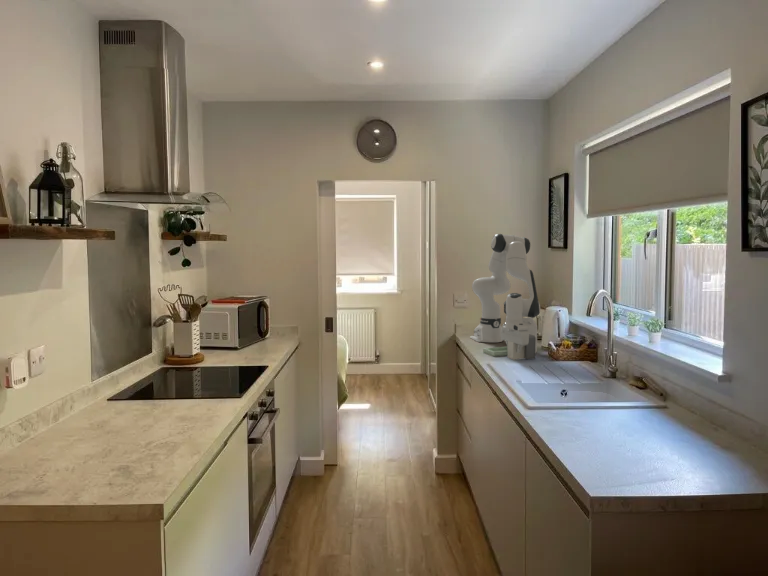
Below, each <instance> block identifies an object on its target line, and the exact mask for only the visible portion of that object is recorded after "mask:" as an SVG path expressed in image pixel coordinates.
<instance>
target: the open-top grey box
mask: <svg viewBox="0 0 768 576" xmlns="http://www.w3.org/2000/svg"><path fill="white" fill-rule="evenodd" d="M535 341H536V337H535V336H534V335H530V334H529V343H528V345H526V356H525V358H524V359H525V360H532V359H534V360H535V359H536V353H535Z"/></svg>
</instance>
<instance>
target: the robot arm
mask: <svg viewBox="0 0 768 576" xmlns="http://www.w3.org/2000/svg"><path fill="white" fill-rule="evenodd" d="M490 244H491V245H490V247H491V249H492V250H493V251H492V253H491V256H490V259H489V262H488V265H487V267H488V270H489V271H490V273H491V276H486V277H485V276H484V277H483V276H482V277H479V278H477V279H474V280H473V281H472V285H471V289H472V291H473V293H474V294H475V295H476V296H477V297H478V299H479V301H480V304H481V317H480V318H479V320H480V321H479V324H478V325H477V326H476V327H475V328H474V329H473V335H471V336H469V338H470V339H472V340H473V341H475V342H478V343H500V342H501V343H502V342H503V341H504V342H505V345H506V346H507V349H508V341H511V342H514V343H515V344H518V349H516V350H517V351H516V352H517V353H521V349H522V347H523V346H524V345H528V343H529V332H528V331H527V330H529V326H528V325H527V324H525V323H524V322H523V318H533V319H534V318H536V317H538V315H540V312H541V304H540V301H539V298H538V292H537V286H536V280H535V276H534V273H533V271H532V269H530V268H529V267H528V263H527V262H528V261H527V254H529V251H530V249H531V240H529V238H527V237H524V236H519V235H515V234H503V233H497V234H496V233H495V234H494V235H493V237H492V238H491V243H490ZM507 273H508V275H510V276H511V277H513V278H515V279H518V280H521V281H522V282H524V283H526V285H527V289H528V294H529V295H528V296H529V298H523V296H522V294H521V293H518V292H512V293H508V292H509V291H510V289H511V281H510V279H508V277H507ZM507 293H508V294H507ZM503 294H507V295H506V300H505V301H504V302H503V313H504V314H505V315H506V316H505V322H503V324H502V317H501V305H500V303H498V301H496V299H495V298H494V297H495V296H497V295H499V296H500V295H503ZM501 324H502V325H501Z"/></svg>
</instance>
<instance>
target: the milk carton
mask: <svg viewBox="0 0 768 576" xmlns="http://www.w3.org/2000/svg"><path fill="white" fill-rule="evenodd" d="M523 322H524V323H525V324H527V325H528V326H529V330H527V331H528V332H529V334H530V335H534V336H535V337H536V341H535V354H536V353H537V352H538V325H537V323H536V321H535V320H534V318H531V317H523Z"/></svg>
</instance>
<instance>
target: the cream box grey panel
mask: <svg viewBox="0 0 768 576" xmlns="http://www.w3.org/2000/svg"><path fill="white" fill-rule="evenodd" d="M516 349H518V344H515V343H514V342H511V341H508V355H507V358H508V359H510V360H521V359H522V360H523V359H525V356H526V345H524V346H523V347H522V349H521V353H517V352H516V351H517V350H516Z"/></svg>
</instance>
